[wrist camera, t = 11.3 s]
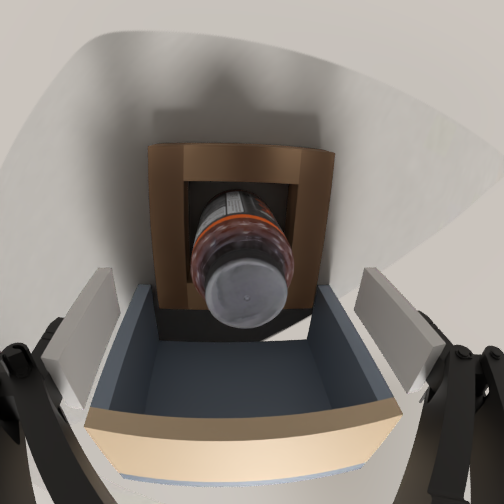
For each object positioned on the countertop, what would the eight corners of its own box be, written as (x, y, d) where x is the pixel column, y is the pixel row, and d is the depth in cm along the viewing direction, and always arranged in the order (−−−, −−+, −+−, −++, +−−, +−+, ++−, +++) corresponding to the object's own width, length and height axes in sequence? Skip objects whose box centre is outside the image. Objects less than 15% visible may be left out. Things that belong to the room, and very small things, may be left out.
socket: (164, 289, 26) (159, 308, 23) (157, 143, 21) (147, 146, 18) (303, 290, 27) (312, 308, 25) (321, 149, 22) (335, 153, 19)
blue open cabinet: (150, 348, 29) (123, 478, 15) (138, 284, 25) (83, 426, 11) (315, 346, 31) (360, 468, 17) (329, 285, 27) (403, 414, 13)
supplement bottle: (284, 232, 25) (327, 309, 14) (226, 267, 26) (231, 361, 15) (247, 173, 22) (270, 214, 12) (185, 213, 23) (158, 285, 13)
